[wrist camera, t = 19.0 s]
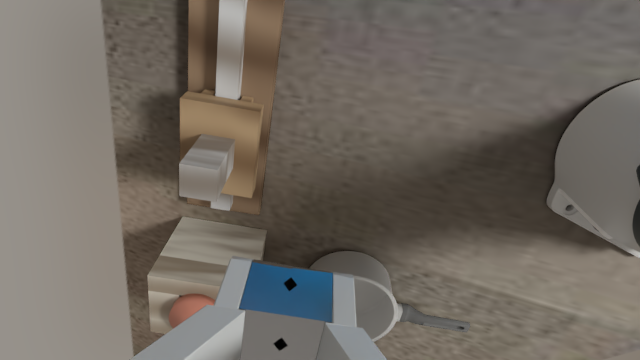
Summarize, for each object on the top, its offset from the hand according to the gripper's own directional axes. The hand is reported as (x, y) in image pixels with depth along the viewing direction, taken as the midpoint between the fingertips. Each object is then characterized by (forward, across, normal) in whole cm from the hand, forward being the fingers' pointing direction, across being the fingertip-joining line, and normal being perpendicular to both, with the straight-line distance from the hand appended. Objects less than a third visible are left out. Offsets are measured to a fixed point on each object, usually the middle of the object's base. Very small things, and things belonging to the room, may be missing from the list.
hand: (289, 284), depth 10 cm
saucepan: (+32, +12, -28) cm, 44 cm away
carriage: (+29, -8, -10) cm, 32 cm away
